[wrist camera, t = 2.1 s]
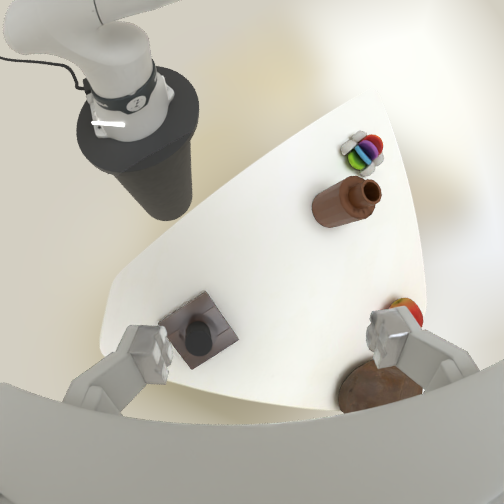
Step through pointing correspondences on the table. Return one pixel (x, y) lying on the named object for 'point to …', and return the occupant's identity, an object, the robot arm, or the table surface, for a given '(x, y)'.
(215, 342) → the dark brown square mat
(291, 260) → the table surface
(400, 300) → the apple
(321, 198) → the bottle
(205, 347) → the cylinder
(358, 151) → the rainbow disc toy
